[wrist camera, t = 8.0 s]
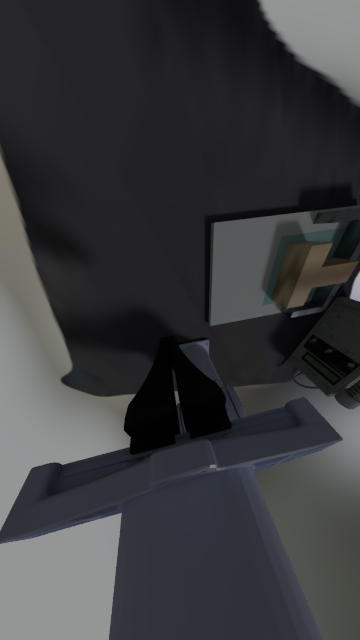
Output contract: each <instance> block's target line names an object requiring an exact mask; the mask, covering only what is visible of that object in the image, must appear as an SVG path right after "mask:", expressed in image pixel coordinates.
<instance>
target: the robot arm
mask: <svg viewBox="0 0 360 640" xmlns="http://www.w3.org/2000/svg"><path fill="white" fill-rule="evenodd" d="M172 364H173V368H174V371H175V376H176V382H177V389H178V395H179V401H180V403H179V404H178V405H177V406H176V400H175V393H174V387H173V375H172ZM225 388H226V389H225ZM226 390H227V391H226ZM124 431H125V432H126V433H127V434H128V435H129V436H130V437H131V442H130V447H129V448H125V449H121V450H117V451H114V452H110V453H106V454H102V455H98V456H95V457H91V458H87V459H83V460H79V461H76V462H72V463H68V464H64V465H62V464H59V463H49V464H45V465H42V466H38V467H34V468H32V469H31V471H30V473H29V475H28V477H27V479H26V481H25V483H24V485H23V487H22V489H21V491H20V493H19V495H18V497H17V499H16V501H15V503H14V505H13V507H12V509H11V511H10V513H9V515H8V517H7V519H6V521H5V523H4V525H3V527H2V529H1V531H0V544H1V543H7V542H13V541H19V540H24V539H30V538H34V537H38V536H41V535H45V534H48V533H51V532H55V531H58V530H62V529H65V528H69V527H72V526H76V525H79V524H83V523H86V522H90V521H94V520H97V519H101V518H105V517H108V516H112V515H115V514H119V513H122V517H121V528H120V538H119V547H118V557H117V566H116V576H115V586H114V596H113V606H112V615H111V625H110V634H109V640H323V638H322V636H321V634H320V631H319V629H318V627H317V624H316V622H315V619H314V617H313V615H312V612H311V610H310V607H309V605H308V603H307V600H306V598H305V596H304V593H303V591H302V588H301V586H300V584H299V581H298V579H297V576H296V574H295V572H294V570H293V567H292V564H291V562H290V560H289V557H288V555H287V553H286V550H285V548H284V545H283V543H282V541H281V538H280V536H279V533H278V531H277V529H276V526H275V524H274V522H273V519H272V517H271V514H270V512H269V510H268V507H267V505H266V502H265V500H264V498H263V495H262V493H261V491H260V488H259V486H258V483H257V481H256V479H255V476H254V474H253V473H254V472H257V471H260V470H263V469H266V468H269V467H272V466H275V465H277V464H280V463H284V462H287V461H289V460H292V459H296V458H299V457H302V456H305V455H308V454H311V453H314V452H318V451H321V450H323V449H325V448H327V447H329V446H331V445H333V444H335V443H337V442H340V441H342V440H343V439H342V437H341V436H340V435H339V434H338V433H337V432H336V431H335V429H334V428H333V427H332V426H331V425H330V424H329V423H328V422H327V421H326V420H325V419H324V417H323V416H321V414H320V413H319V412H318V411H317V410H316V409H315V408H314V407H313V405H311V403H310V402H309V401H308V400H307V399H306V398H304V397H303V398H299V399H295V400H291V401H289V402H288V403H287V404H286V405H285V406H284V407H281V408H277V409H273V410H269V411H265V412H262V413H258V414H254V415H250V416H247V413H246V411H245V409H244V407H243V405H242V403H241V401H240V399H239V397H238V395H237V393H236V392H235V390H234V389H233V387H231V386H229V385H225V387H224V385H223V383H222V381H221V380H220V379H219V376H218V374H217V372H216V370H215V368H214V366H213V363H212V361H211V359H210V357H209V340H208V339H205V340H200V341H195V342H190V343H185V344H180V345H178V343H177V341H176V339H175V337H174V336H170V337H165V338H161V339H160V344H159V348H158V352H157V355H156V358H155V361H154V363H153V366H152V368H151V370H150V372H149V374H148V376H147V378H146V380H145V381H144V383H143V385H142V386H141V388H140V389H139V391H138V392H137V394H136V395H135V397H134V398H133V399H132V401H131V402H130V404H129V405H128V408H127V412H126V416H125V423H124ZM147 458H148V459H147ZM145 459H146V460H145Z"/></svg>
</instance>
